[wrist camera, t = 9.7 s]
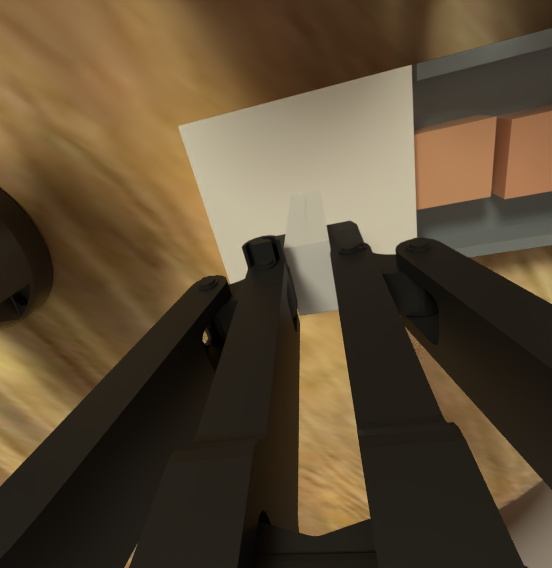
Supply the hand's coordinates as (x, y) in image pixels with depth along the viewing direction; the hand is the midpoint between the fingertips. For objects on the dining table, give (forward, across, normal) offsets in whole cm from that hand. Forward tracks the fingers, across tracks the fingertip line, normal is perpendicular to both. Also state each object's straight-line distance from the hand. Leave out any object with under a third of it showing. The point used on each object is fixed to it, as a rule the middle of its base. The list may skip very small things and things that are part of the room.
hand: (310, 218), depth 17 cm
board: (+8, 0, 0) cm, 8 cm away
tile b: (+5, +14, -1) cm, 15 cm away
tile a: (+7, +9, 0) cm, 11 cm away
